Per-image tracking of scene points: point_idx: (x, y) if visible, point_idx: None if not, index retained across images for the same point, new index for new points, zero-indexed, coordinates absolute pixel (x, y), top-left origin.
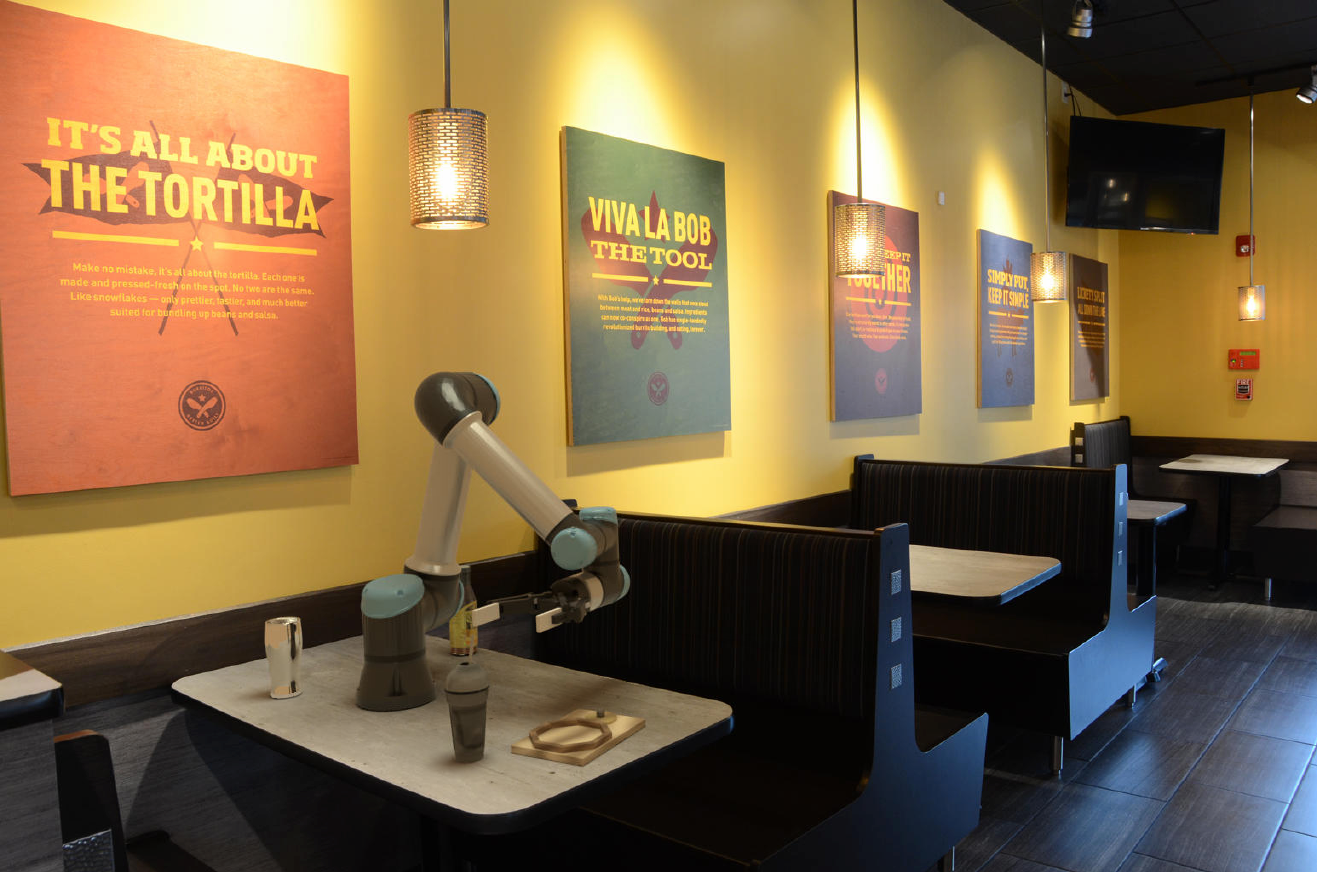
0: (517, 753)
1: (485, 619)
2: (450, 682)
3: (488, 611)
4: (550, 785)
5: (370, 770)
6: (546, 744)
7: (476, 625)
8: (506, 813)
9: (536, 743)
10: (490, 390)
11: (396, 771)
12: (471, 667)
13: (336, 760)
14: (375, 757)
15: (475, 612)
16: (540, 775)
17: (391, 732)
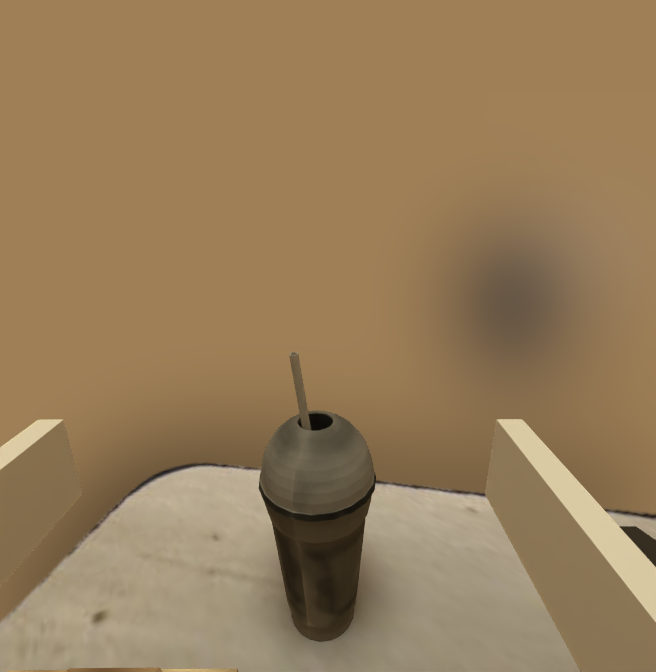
0: None
1: (527, 547)
2: (328, 425)
3: (559, 541)
4: (97, 564)
5: (435, 496)
6: (118, 668)
7: (485, 491)
8: (154, 477)
9: (152, 668)
10: None
11: (396, 508)
12: (289, 420)
13: None
14: (486, 532)
15: (496, 427)
16: (125, 593)
17: None
